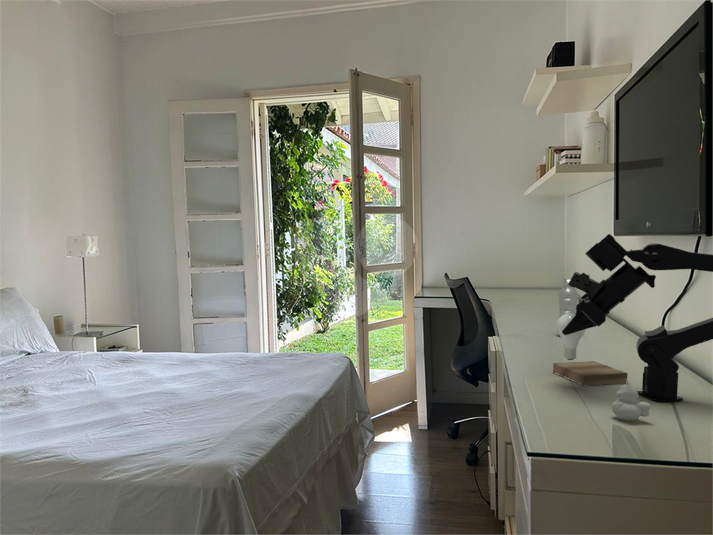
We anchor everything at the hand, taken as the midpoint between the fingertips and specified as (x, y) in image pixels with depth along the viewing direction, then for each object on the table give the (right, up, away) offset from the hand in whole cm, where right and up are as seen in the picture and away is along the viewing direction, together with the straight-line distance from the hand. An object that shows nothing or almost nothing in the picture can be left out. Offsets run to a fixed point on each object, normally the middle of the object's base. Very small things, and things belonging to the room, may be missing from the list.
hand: (564, 331), depth 124 cm
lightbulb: (+1, -7, 0) cm, 7 cm away
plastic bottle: (+25, -9, +62) cm, 67 cm away
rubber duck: (+4, -15, -22) cm, 27 cm away
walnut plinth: (+9, -12, +8) cm, 17 cm away
